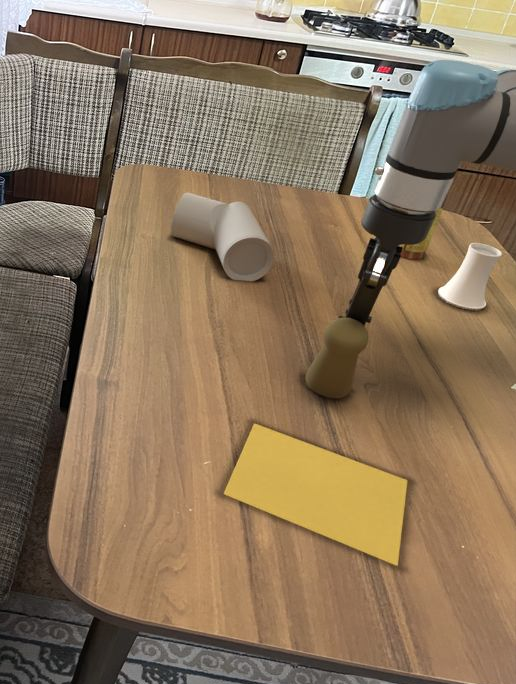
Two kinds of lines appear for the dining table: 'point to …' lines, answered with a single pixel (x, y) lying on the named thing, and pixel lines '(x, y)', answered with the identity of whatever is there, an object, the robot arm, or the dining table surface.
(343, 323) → the cork
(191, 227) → the bent grey cylinder
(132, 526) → the dining table surface
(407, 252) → the sauce bottle
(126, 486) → the dining table surface
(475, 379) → the dining table surface
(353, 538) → the yellow cloth
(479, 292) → the vase
